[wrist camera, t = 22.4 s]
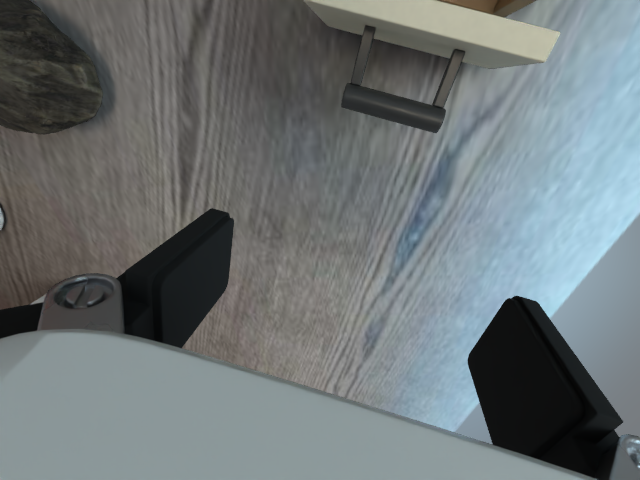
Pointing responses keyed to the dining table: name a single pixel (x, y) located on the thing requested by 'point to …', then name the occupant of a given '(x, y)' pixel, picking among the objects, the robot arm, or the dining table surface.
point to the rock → (42, 73)
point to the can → (1, 218)
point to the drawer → (433, 45)
